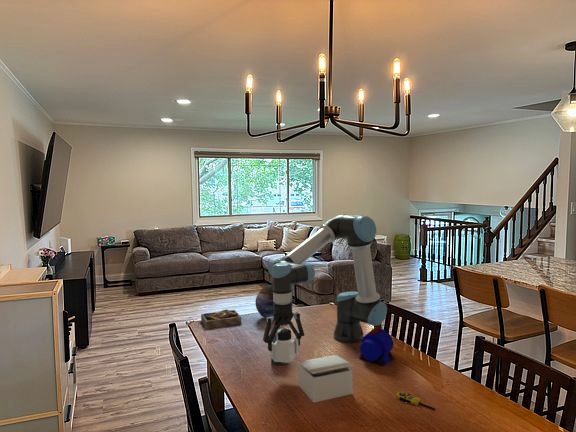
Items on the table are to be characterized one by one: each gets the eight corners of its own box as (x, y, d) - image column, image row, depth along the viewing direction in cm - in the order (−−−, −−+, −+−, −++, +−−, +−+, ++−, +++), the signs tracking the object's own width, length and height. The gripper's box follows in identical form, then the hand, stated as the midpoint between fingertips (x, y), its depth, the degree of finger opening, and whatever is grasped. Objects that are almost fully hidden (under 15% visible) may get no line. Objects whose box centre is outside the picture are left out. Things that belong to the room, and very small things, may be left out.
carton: (334, 378, 170) (334, 356, 170) (352, 394, 157) (352, 370, 157) (298, 385, 165) (298, 363, 164) (313, 402, 152) (313, 378, 151)
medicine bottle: (295, 356, 173) (294, 327, 172) (290, 363, 166) (289, 334, 165) (279, 354, 175) (278, 326, 174) (273, 361, 169) (272, 332, 167)
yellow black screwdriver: (400, 389, 158) (438, 403, 147) (400, 394, 158) (438, 409, 147) (393, 393, 154) (432, 409, 144) (393, 399, 154) (432, 414, 144)
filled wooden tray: (234, 316, 253) (234, 309, 253) (241, 323, 239) (241, 316, 239) (201, 320, 246) (201, 313, 245) (206, 328, 232) (205, 321, 231)
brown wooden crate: (238, 320, 244) (237, 312, 244) (215, 328, 233) (214, 319, 232) (226, 316, 252) (226, 308, 252) (203, 323, 241) (203, 315, 240)
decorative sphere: (252, 323, 239) (251, 288, 238) (260, 313, 259) (259, 280, 257) (285, 325, 236) (284, 289, 234) (290, 314, 256) (290, 281, 254)
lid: (335, 356, 170) (335, 354, 170) (353, 366, 157) (353, 364, 157) (297, 363, 164) (297, 361, 164) (312, 373, 151) (312, 372, 151)
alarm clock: (394, 359, 188) (394, 326, 187) (380, 368, 179) (380, 333, 178) (370, 352, 197) (370, 320, 195) (356, 360, 188) (356, 327, 186)
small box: (285, 366, 183) (284, 342, 182) (270, 364, 184) (270, 341, 183) (290, 356, 193) (289, 333, 192) (276, 355, 194) (275, 333, 194)
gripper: (304, 295, 176) (306, 347, 178) (253, 303, 168) (255, 357, 170) (312, 300, 169) (313, 354, 171) (258, 308, 161) (261, 364, 163)
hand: (284, 355), depth 171 cm, fingers closed on medicine bottle, 10 cm apart
